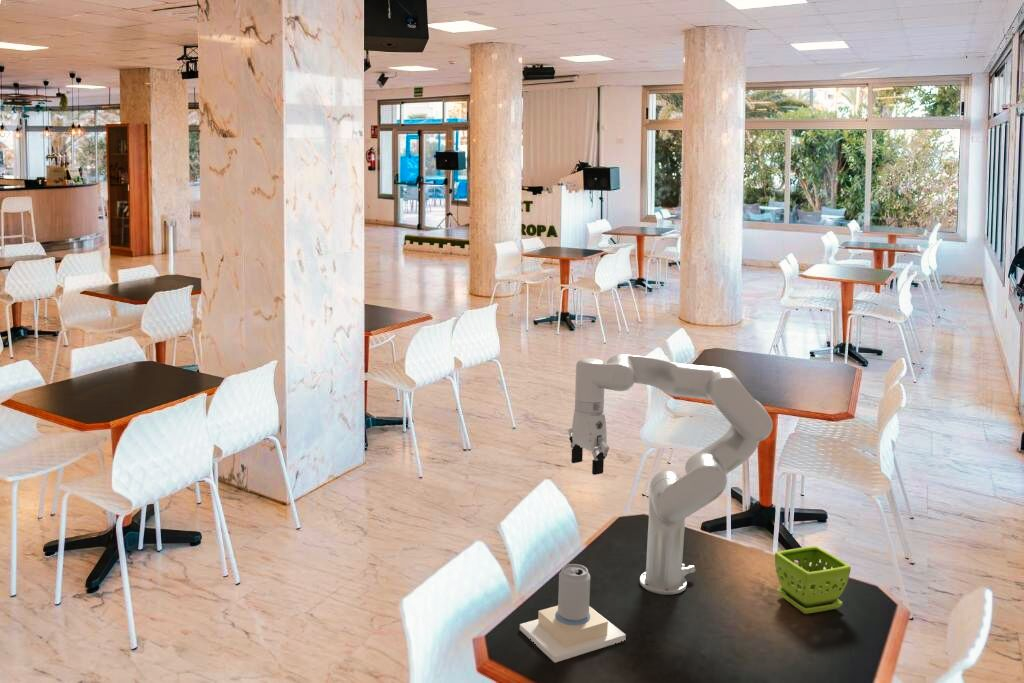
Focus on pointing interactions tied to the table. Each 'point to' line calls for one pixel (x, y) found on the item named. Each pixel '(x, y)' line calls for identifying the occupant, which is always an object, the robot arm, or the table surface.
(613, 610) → the table surface
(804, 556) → the flower pot
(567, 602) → the can
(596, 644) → the base
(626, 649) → the table surface
